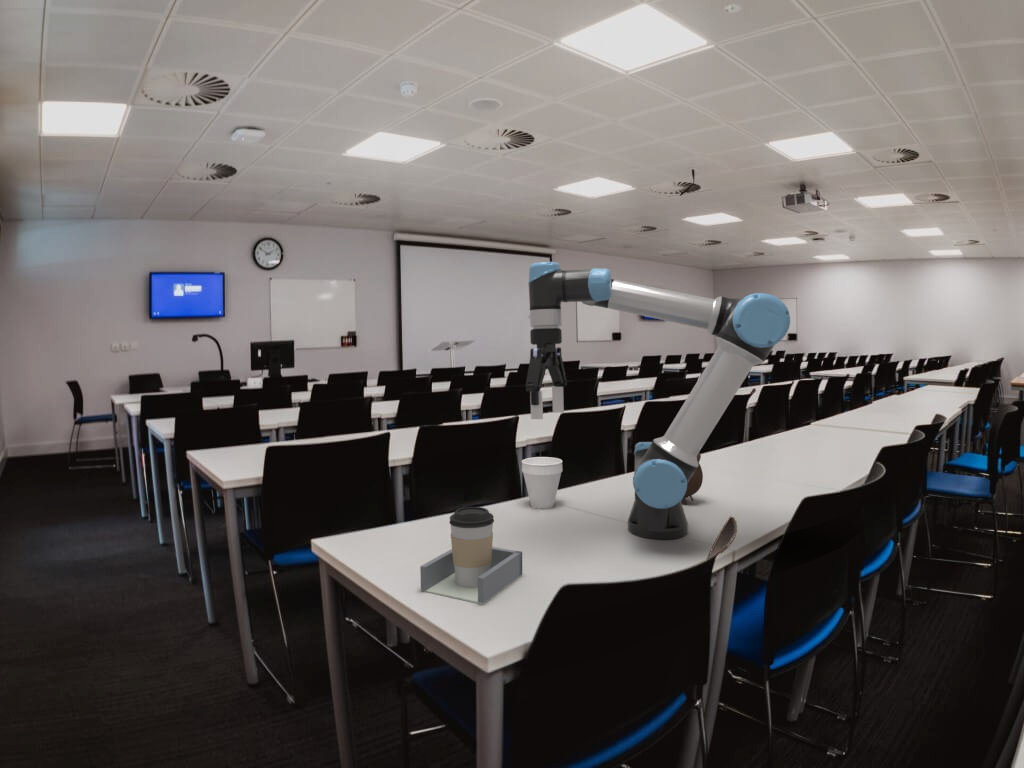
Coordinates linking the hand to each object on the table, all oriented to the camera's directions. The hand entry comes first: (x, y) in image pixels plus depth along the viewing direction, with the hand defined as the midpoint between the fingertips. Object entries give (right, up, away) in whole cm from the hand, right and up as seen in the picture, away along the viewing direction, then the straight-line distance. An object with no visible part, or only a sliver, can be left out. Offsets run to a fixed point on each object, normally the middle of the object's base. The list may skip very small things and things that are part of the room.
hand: (548, 415), depth 148 cm
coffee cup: (-17, -33, -23) cm, 44 cm away
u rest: (-17, -33, -24) cm, 44 cm away
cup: (0, -29, +35) cm, 45 cm away
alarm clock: (+42, -28, +38) cm, 63 cm away
